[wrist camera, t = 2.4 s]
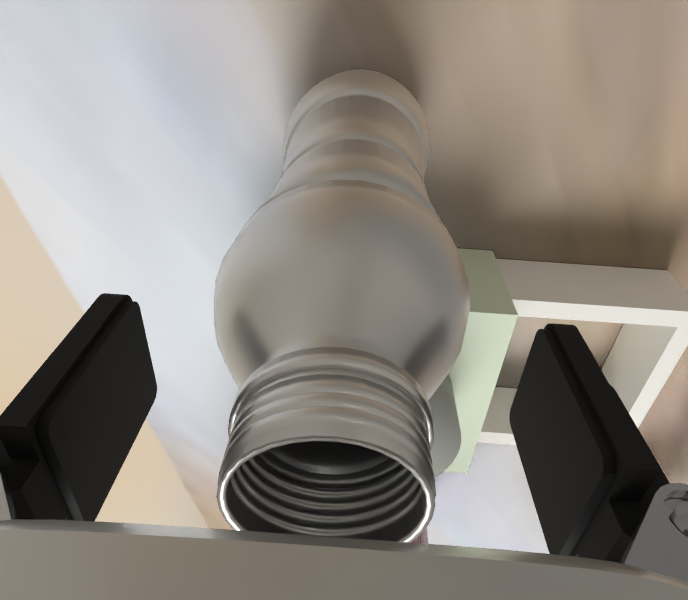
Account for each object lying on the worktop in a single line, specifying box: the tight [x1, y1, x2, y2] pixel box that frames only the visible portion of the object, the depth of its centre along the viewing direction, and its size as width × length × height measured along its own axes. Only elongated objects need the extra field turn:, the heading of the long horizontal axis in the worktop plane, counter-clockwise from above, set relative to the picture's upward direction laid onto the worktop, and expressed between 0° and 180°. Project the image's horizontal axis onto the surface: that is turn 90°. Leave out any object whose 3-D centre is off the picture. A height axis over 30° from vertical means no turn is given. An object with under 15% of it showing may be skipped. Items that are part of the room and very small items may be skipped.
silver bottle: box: [214, 69, 470, 543], centre depth 16 cm, size 6×7×20 cm
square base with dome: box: [428, 248, 688, 478], centre depth 28 cm, size 12×22×9 cm, turn 87°
